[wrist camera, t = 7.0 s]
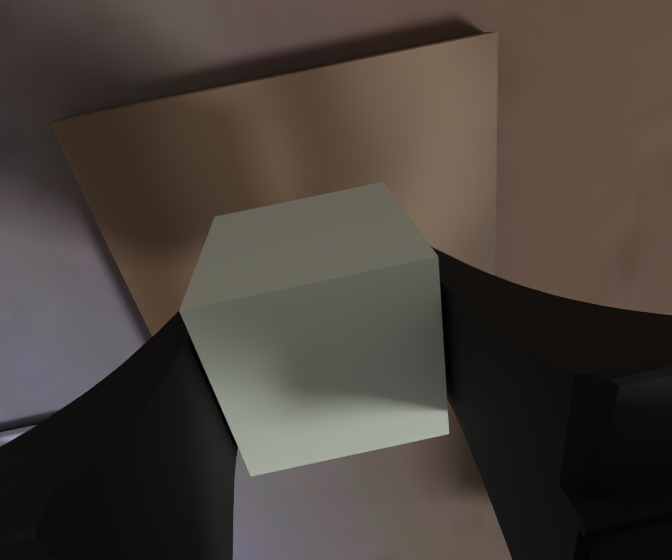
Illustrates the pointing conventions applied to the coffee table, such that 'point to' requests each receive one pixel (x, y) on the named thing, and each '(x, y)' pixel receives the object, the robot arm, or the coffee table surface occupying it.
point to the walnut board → (293, 157)
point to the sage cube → (320, 328)
